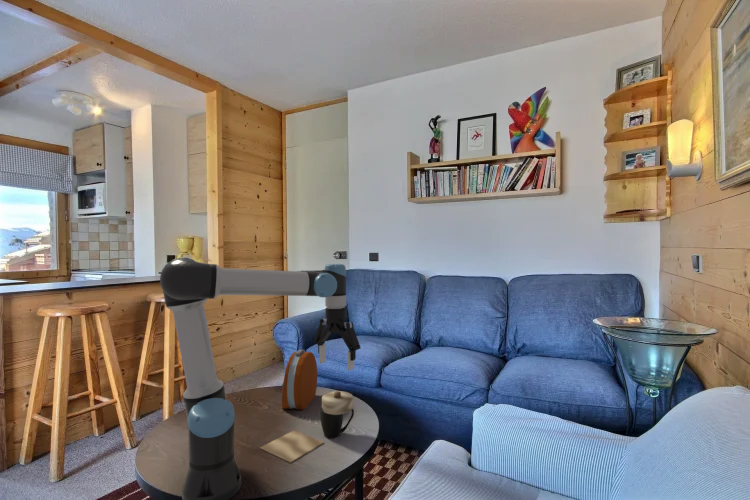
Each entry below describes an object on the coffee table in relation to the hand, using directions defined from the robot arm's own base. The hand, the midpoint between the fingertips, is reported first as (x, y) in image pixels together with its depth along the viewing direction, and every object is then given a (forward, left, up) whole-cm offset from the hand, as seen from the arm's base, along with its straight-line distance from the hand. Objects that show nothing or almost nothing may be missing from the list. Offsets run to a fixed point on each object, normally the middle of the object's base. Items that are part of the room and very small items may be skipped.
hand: (336, 366), depth 138 cm
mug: (0, 0, -25) cm, 25 cm away
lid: (0, 0, -15) cm, 15 cm away
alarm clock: (+12, +33, -25) cm, 43 cm away
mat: (-15, +7, -24) cm, 30 cm away
